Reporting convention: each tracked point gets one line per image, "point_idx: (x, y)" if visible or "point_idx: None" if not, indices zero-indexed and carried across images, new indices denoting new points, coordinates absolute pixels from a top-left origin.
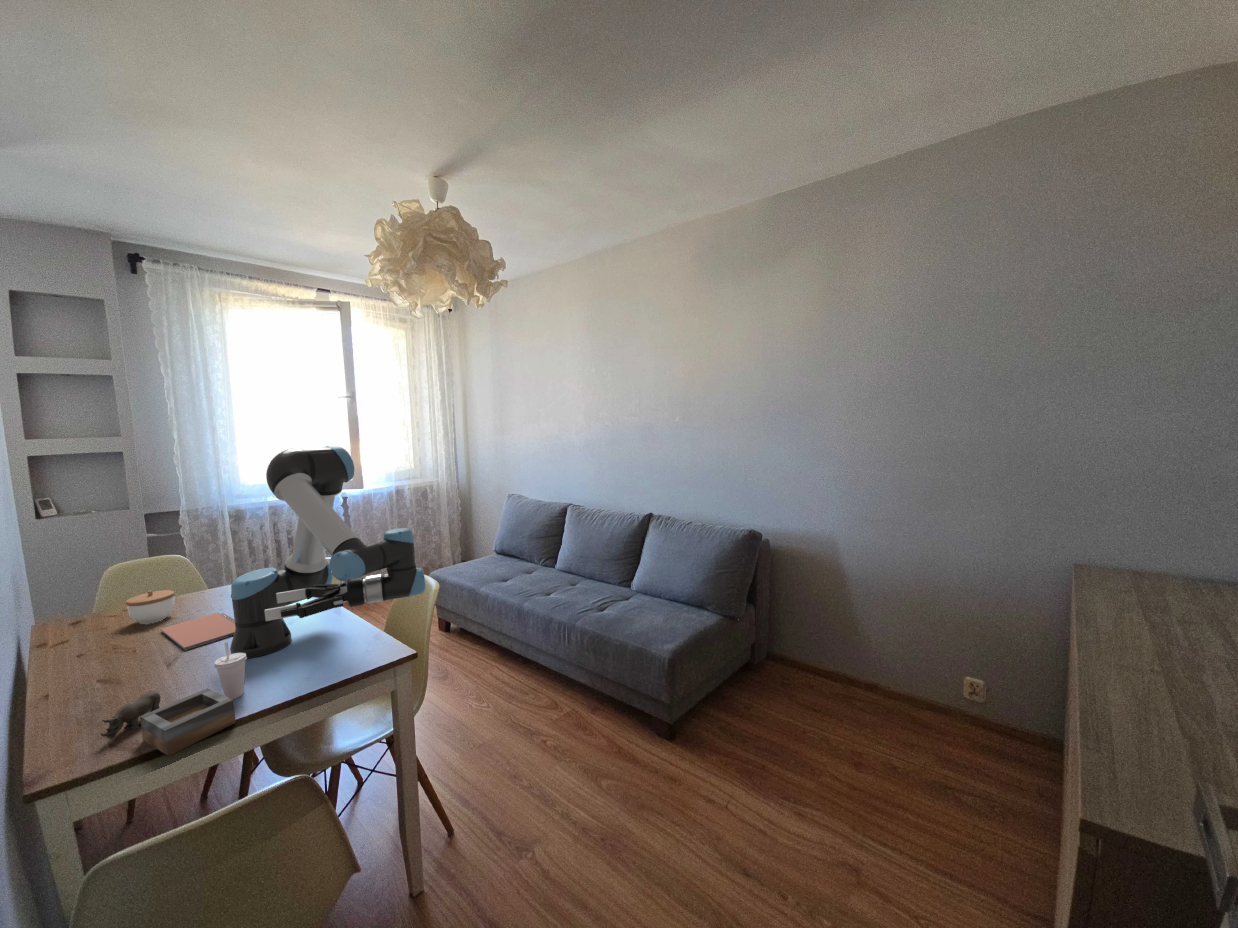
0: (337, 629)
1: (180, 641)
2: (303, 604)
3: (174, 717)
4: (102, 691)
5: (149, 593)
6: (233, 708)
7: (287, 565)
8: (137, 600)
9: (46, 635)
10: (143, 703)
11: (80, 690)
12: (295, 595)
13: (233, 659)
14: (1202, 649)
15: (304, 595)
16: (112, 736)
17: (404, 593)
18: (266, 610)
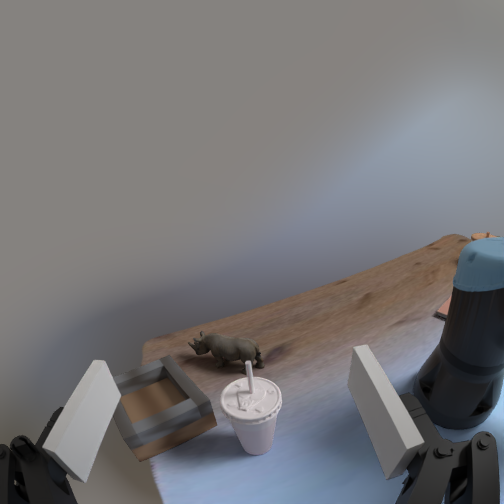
0: None
1: (449, 300)
2: (30, 473)
3: (173, 389)
4: (341, 306)
5: (486, 234)
6: (129, 447)
7: None
8: (476, 236)
9: (443, 240)
10: (226, 348)
11: (349, 293)
12: (378, 426)
13: (239, 403)
14: None
15: (391, 466)
16: (196, 353)
17: None
18: (91, 365)
